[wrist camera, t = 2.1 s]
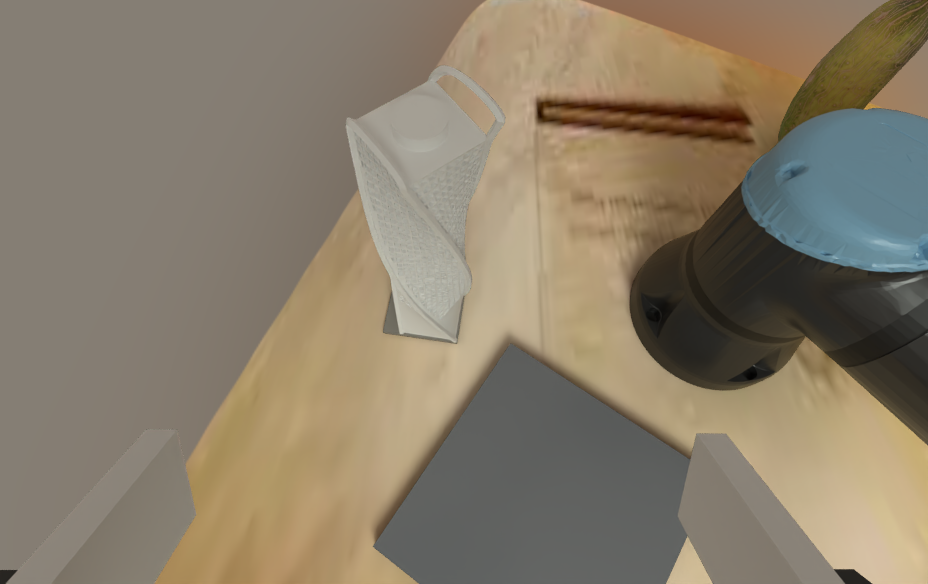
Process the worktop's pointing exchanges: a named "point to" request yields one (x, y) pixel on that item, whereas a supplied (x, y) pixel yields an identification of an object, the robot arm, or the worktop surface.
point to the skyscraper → (422, 199)
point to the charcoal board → (541, 491)
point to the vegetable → (861, 62)
